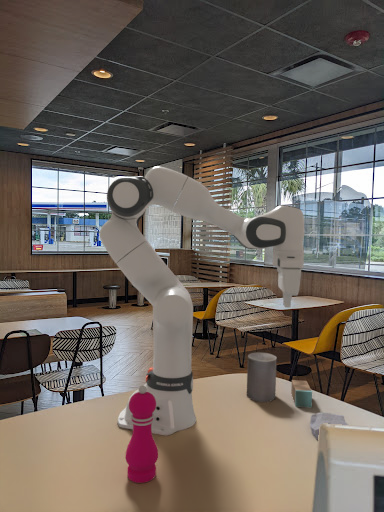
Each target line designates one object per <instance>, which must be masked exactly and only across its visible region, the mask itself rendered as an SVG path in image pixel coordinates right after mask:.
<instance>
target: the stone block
mask: <svg viewBox="0 0 384 512" xmlns="http://www.w3.org/2000/svg"><path fill="white" fill-rule="evenodd" d="M323 423H328V424H342V425H349V424H348V423H347V422H346V420H345V416H344V415H343V414H336V413H331V412H327V411H326V412H323V411H322V412H318V413H313V414H311V415H310V422H309V427H310V430H311V434H312V436H313V437H314V438H315V439H316V440H318V435H319V427H320V425H321V424H323ZM318 441H319V440H318Z"/></svg>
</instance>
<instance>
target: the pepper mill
mask: <svg viewBox="0 0 384 512" xmlns="http://www.w3.org/2000/svg"><path fill="white" fill-rule="evenodd" d="M138 389H139V392H137V393H135V394H134V395H133V396H132V397H131V398H130V397H129V398H130V401H129V410H130V411H131V413H132V415H131V422H132V423H133V429H132V435H131V437H130V440H129V443H128V445H127V446H126V450H125V461H126V463H127V465H128V466H127V478H128V480H130V481H131V482H133V483H137V484H143V483H144V484H145V483H148V482H150V481H152V480H153V479H154V478H156V474H157V465H156V463H157V461H158V459H159V449H158V445H157V443H156V441H155V439H154V436H153V433H152V431H151V425H152V422H153V421H154V418H153V417H154V414H153V412H154V410H155V409H156V400H155V397H154V396H153V395H152V394H151V393H149V392H146V391H147V388H146V387H145V386H143V385H140V386H139V388H138Z"/></svg>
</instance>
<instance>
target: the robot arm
mask: <svg viewBox="0 0 384 512" xmlns="http://www.w3.org/2000/svg"><path fill="white" fill-rule="evenodd" d="M109 185H110V186H109V187H108V189H107V192H106V201H107V202H106V203H107V205H108V207H109V208H110V209H109V210H110V212H111V216H110V218H109V219H108V220H107V221H105V222H104V224H103V225H102V226H101V228H100V231H99V238H100V240H101V242H102V244H103V247H104V248H105V250H106V251H107V253H108V255H109V256H110V258H111V259H112V261H113V262H114V263H115V264H116V266H117V267H118V269H119V270H120V271H121V272H122V273H123V274H124V277H126V279H127V280H128V281H129V282H130V284H131V285H132V286H133V287H134V288H135V289H136V290H137V291H138V292H139V293H140V294H141V295H142V296H143V297H144V298H145V300H146V301H148V303H149V304H151V306H152V339H153V340H152V341H153V344H152V345H153V348H152V349H153V352H152V353H153V357H152V358H153V362H152V364H153V366H152V367H149V368H148V370H147V373H146V376H145V384H143V385H142V386H145V387H146V388H147V391H146V392H149V393H151V394H152V395H153V396H154V397H155V400H156V409H155V410H154V412H153V414H154V417H153V418H154V421H153V422H152V425H151V431H152V434H155V435H160V436H161V435H162V436H170V435H172V434H174V433H175V432H176V433H177V432H179V431H183V430H187V429H189V428H190V427H192V426H194V425H195V423H196V421H197V417H196V414H195V413H196V412H195V409H194V404H193V389H194V376H193V373H194V372H193V370H192V347H193V346H192V344H193V328H194V327H193V325H194V324H193V323H194V304H193V301H192V297H191V294H190V292H189V290H187V288H186V286H185V285H183V284H182V282H181V281H180V280H179V279H178V277H177V276H176V275H175V274H174V272H173V271H172V270H171V269H170V268H169V266H168V265H167V264H166V263H165V261H164V260H163V259H162V258H161V256H160V255H159V254H158V253H157V252H156V250H155V249H154V248H153V246H152V245H151V244H150V243H149V241H148V239H147V238H146V237H145V236H144V235H143V234H142V232H141V231H140V229H139V226H138V223H139V222H140V220H141V219H142V218H143V216H144V215H145V213H146V211H147V208H148V207H149V206H152V205H153V206H154V205H155V206H160V207H163V208H165V209H167V210H169V211H171V212H173V213H175V214H177V215H180V216H182V217H185V218H188V219H191V220H196V221H201V222H204V223H205V222H206V223H208V224H211V225H212V226H215V227H217V228H218V229H220V230H222V231H224V232H227V233H228V234H230V235H232V236H233V237H234V238H235V240H237V242H238V243H239V244H240V245H241V246H242V247H244V248H245V249H247V250H264V249H267V248H273V249H272V267H276V272H278V274H277V275H278V277H277V287H278V288H279V289H280V291H282V300H283V306H284V308H287V309H288V308H291V305H292V304H291V303H292V302H291V301H292V298H293V296H294V297H295V296H298V295H299V292H300V287H301V276H302V269H304V266H305V265H304V257H305V256H304V255H305V254H304V253H305V251H304V246H303V245H304V243H303V242H304V239H305V219H304V213H303V211H302V210H301V209H300V208H299V207H297V206H293V205H285V204H281V205H278V206H276V207H275V208H273V209H272V210H269V211H268V212H266V213H262V214H260V215H258V216H254V217H243V216H240V215H239V214H236V213H234V212H233V211H231V210H229V209H227V208H225V207H223V206H222V205H220V204H219V203H218V202H217V201H215V199H214V198H213V196H212V194H211V192H210V189H208V188H207V187H206V186H205V185H203V184H202V183H201V182H199V181H197V180H195V179H194V178H192V177H190V176H188V175H186V174H184V173H182V172H180V171H177V170H174V169H172V168H167V167H164V166H160V165H159V166H158V165H157V166H153V167H151V168H150V169H149V170H148V171H147V172H146V174H145V176H141V175H140V176H124V177H119V178H116V179H115V180H114V181H113V182H111V184H109ZM137 392H139V388H138V389H137V390H135V391H134V392H132V393H131V395H130V396H129V398H128V401H127V403H126V406H125V408H123V409H122V411H120V413H119V415H118V417H117V425H118V427H119V428H122V429H127V430H133V423H132V422H131V415H132V413H131V411H130V410H129V401H130V398H131V397H132V396H133V395H134V394H135V393H137Z"/></svg>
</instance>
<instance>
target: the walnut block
mask: <svg viewBox="0 0 384 512" xmlns="http://www.w3.org/2000/svg"><path fill="white" fill-rule="evenodd" d="M290 393H291V394H292V395H291V398H292V397H293V398H292V400H294V401H293V403H294V406H295V407H298V408H312V407H313V405H312V404H313V391H312V388H311V387H310V385H309V383H308V381H307V380H300V379H299V380H296V379H292V380H291V392H290Z"/></svg>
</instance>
